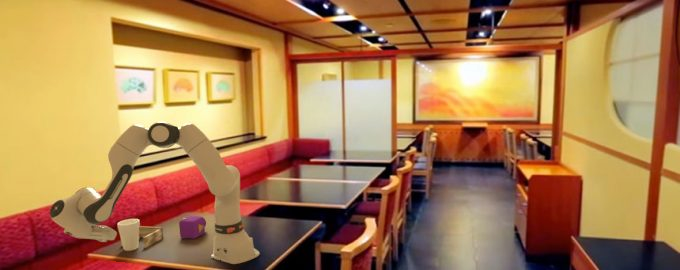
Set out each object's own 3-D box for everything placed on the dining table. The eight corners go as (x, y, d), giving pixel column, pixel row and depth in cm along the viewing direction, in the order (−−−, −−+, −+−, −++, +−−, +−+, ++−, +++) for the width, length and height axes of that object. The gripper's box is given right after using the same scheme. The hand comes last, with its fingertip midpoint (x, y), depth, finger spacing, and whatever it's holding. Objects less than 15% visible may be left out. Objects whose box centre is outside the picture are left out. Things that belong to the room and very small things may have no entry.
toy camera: (210, 230, 221) (208, 212, 220) (198, 239, 208) (197, 220, 207) (190, 230, 222) (189, 212, 221) (178, 239, 209) (176, 220, 208)
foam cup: (121, 246, 203) (118, 220, 201) (142, 243, 206) (139, 217, 205) (119, 253, 194) (116, 226, 193) (141, 249, 198) (138, 223, 196)
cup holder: (145, 247, 200) (144, 236, 199) (121, 246, 203) (120, 235, 203) (163, 237, 212) (162, 227, 212) (140, 236, 216) (139, 226, 215)
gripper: (107, 220, 173) (127, 234, 184) (68, 218, 178) (89, 232, 189) (100, 234, 170) (120, 248, 180) (59, 232, 175) (82, 245, 185)
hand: (104, 240), depth 185 cm, fingers closed
